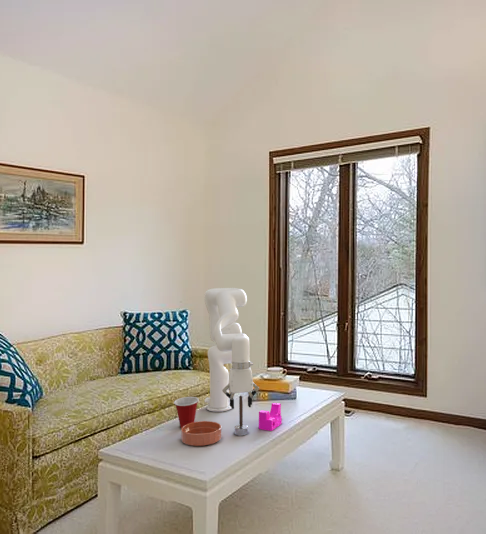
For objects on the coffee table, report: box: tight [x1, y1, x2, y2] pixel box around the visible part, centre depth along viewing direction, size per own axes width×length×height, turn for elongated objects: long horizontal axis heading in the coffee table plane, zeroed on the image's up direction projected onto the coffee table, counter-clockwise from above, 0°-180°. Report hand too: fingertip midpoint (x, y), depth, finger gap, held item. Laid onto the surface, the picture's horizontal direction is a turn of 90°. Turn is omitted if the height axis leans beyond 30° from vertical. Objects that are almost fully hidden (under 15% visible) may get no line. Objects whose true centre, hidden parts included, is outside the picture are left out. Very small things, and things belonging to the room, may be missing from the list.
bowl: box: [180, 420, 222, 447], centre depth 201 cm, size 16×16×5 cm
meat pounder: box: [233, 395, 249, 436], centre depth 209 cm, size 6×6×16 cm
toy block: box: [258, 402, 283, 432], centre depth 220 cm, size 15×6×8 cm, turn 156°
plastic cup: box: [173, 396, 200, 429], centre depth 217 cm, size 11×11×12 cm
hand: (240, 406), depth 209 cm, fingers open, 6 cm apart
